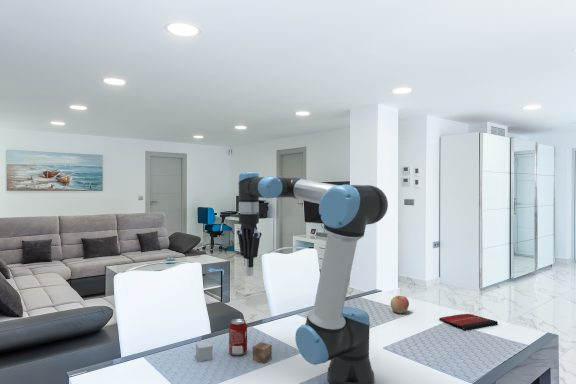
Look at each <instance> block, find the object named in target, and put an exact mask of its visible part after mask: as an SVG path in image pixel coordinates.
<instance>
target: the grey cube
mask: <svg viewBox="0 0 576 384" xmlns="http://www.w3.org/2000/svg"><path fill="white" fill-rule="evenodd" d="M213 352H214V351H213V344H212V343H211V341H210V340H207V341H200V342H195V357H196V360H197V362H198V363H201V362H205V361H211V360H213V354H214V353H213Z"/></svg>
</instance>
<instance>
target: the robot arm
mask: <svg viewBox="0 0 576 384" xmlns="http://www.w3.org/2000/svg"><path fill="white" fill-rule="evenodd" d="M237 184H238V212H239V214H238V223H239V224H240V229H239V230H237V231H236V234H237V237H238V245H239V251H240V256H241V257H242V258H243V261H244V263H243V265H244V276H245V277H252V276H254V259H255V258H257V257H258V255H259V254H258V253H259V248H260V247H259V246H260V240H261V237H262V232H259V231H258V227H257V225H258V224H259V223H260V219H259V218H260V215H259V214H258V213H259V212H260V211H259V207H260V205H259V202H260V199H259V198H262V199H275V198H276V199H279V198H280V199H281V198H283V199H284V198H289V199H296V200H302V201H305V202H309V203H314V204H318V213H319V215H320V219H321V222H322V223H323V229H324V231H325V232H326V234H327V235H326V241H325V242H326V243H325V246H324V247H325V248H324V252H323V258H322V262H321V263H322V264H321V268H320V273H319V278H318V279H319V280H318V284H317V290H316V294H315V300H314V305H313V308H311V309H310V310H308V311H307V314H306V318H305V319H306V321H305V323H304V324H301V325H300V326H298V328H297V329H296V331H295V344H296V348H297V349H298V352H299V354H300V356H301V357H302V358H303V359H304V360H305V362H307V363H309V364H311V365H313V366H316V365H321V364H325V363H327V362H329V361H330V362H329V366H328V368H327V373H326V375H327V377H326V378H327V381H328V382H329V384H375V372H374V371H373V368H372V364H371V360H370V326H371V323H370V315H369V313H368V312H367V311H365V310H364V309H361V308H358V307H353V306H345V304H346V303H345V302H346V298H347V291H348V287H349V282H350V278H351V273H352V269H353V263H354V259H355V254H356V248H357V244H358V241H359V240H361V239H362V238H364V236H365V232H366V227H367V226H368V225H373V224H375V223H378V222H379V221H382V219H383V218H385V216H386V214H387V212H388V209H389V208H388V207H389V203H388V201H389V200H388V198H387V196H386V194H385V192H384V191H383V190H381V188H379V187H377V186H374V185H371V184H369V185H367V184H364V185H361V184H342V185H341V184H340V185H339V184H333V183H328V182H327V183H326V182H320V181H316V180H315V181H314V180H308V179H304V178H302V177H284V176H283V177H279V176H278V177H277V176H260V174H259V173H258V172H257V171H256V172H255V171H252V172H251V171H247V172H244V171H243V172H240V173H239V176H238V183H237Z"/></svg>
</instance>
